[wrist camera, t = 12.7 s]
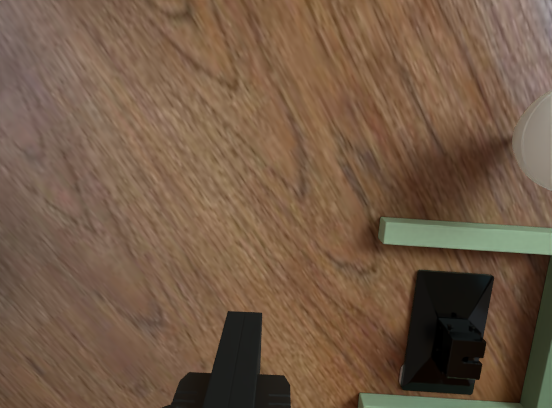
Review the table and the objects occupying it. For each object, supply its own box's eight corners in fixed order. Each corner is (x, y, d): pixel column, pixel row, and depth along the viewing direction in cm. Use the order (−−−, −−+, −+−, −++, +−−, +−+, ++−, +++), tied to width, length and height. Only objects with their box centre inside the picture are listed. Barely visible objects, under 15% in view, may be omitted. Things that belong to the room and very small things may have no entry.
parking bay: (380, 216, 37) (386, 223, 35) (573, 229, 37) (593, 236, 35) (357, 410, 41) (361, 427, 39) (531, 421, 41) (546, 439, 39)
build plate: (470, 391, 41) (494, 426, 36) (397, 386, 41) (411, 420, 36) (492, 274, 38) (521, 296, 34) (414, 269, 38) (432, 289, 34)
